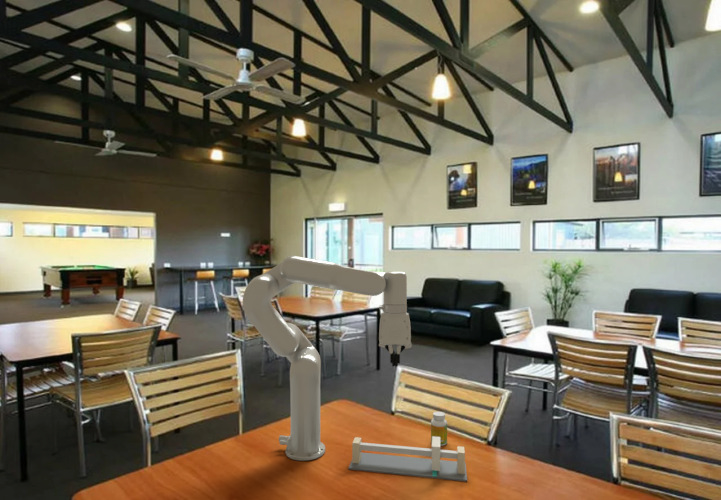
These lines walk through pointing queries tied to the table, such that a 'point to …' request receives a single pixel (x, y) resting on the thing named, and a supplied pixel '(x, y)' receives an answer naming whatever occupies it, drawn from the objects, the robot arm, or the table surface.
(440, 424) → the supplement bottle
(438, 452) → the white block
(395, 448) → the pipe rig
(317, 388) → the robot arm
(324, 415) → the table surface
